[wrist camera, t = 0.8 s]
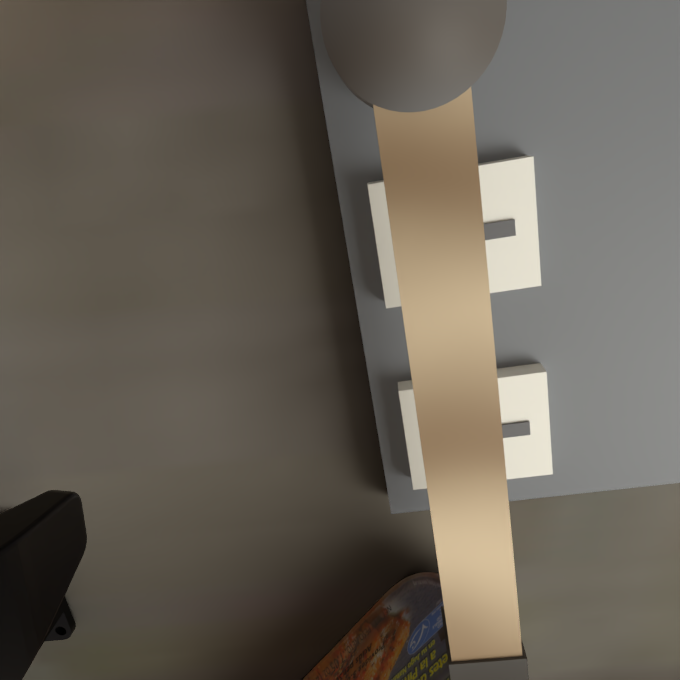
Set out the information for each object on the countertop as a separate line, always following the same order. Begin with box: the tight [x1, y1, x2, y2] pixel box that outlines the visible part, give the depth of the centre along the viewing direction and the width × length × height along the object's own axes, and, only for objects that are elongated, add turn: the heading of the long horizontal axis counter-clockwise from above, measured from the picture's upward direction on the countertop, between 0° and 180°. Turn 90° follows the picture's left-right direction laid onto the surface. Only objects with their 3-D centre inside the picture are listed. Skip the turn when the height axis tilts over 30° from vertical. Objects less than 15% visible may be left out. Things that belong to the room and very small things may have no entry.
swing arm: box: [320, 0, 529, 680], centre depth 15 cm, size 20×4×2 cm, turn 10°
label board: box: [306, 0, 680, 514], centre depth 18 cm, size 14×18×5 cm
